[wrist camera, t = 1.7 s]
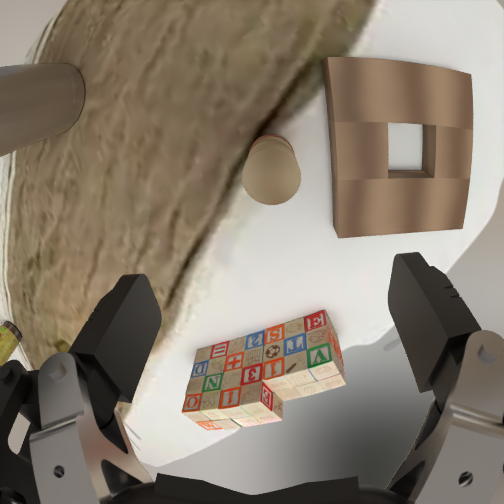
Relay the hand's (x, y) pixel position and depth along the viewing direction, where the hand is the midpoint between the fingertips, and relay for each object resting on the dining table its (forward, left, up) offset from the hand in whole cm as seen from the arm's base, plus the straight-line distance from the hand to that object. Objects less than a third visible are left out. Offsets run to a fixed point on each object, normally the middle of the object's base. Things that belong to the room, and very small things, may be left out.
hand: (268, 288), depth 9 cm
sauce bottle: (-65, -28, -22) cm, 74 cm away
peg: (0, 0, -22) cm, 22 cm away
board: (+14, 0, -22) cm, 26 cm away
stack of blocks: (-4, -28, -22) cm, 36 cm away
